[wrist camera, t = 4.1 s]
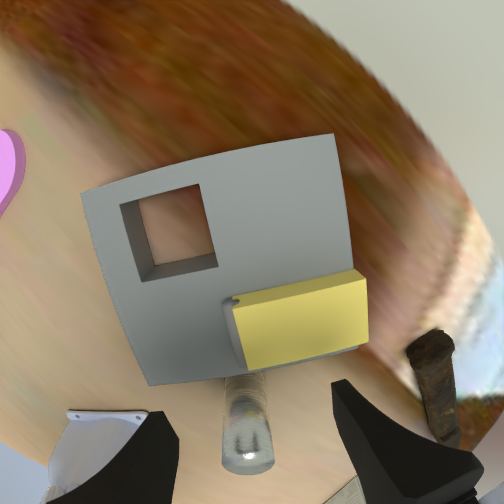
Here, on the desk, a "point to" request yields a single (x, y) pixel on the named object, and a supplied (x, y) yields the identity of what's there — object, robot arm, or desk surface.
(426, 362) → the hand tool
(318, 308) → the latch flap
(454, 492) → the robot arm
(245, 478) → the desk surface
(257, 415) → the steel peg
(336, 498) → the light bulb box
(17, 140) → the bracket
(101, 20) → the desk surface
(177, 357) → the plate
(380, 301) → the desk surface
